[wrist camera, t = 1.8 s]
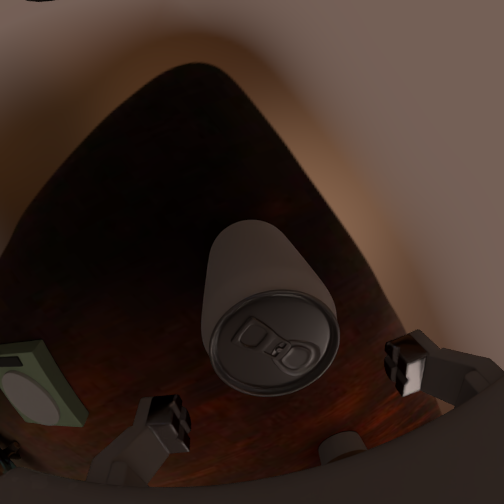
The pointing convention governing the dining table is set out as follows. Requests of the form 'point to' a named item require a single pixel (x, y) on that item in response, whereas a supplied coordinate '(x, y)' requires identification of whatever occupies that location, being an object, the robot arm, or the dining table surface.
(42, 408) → the scale
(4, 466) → the bird figurine
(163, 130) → the dining table surface
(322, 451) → the coffee cup
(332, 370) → the dining table surface
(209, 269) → the can
